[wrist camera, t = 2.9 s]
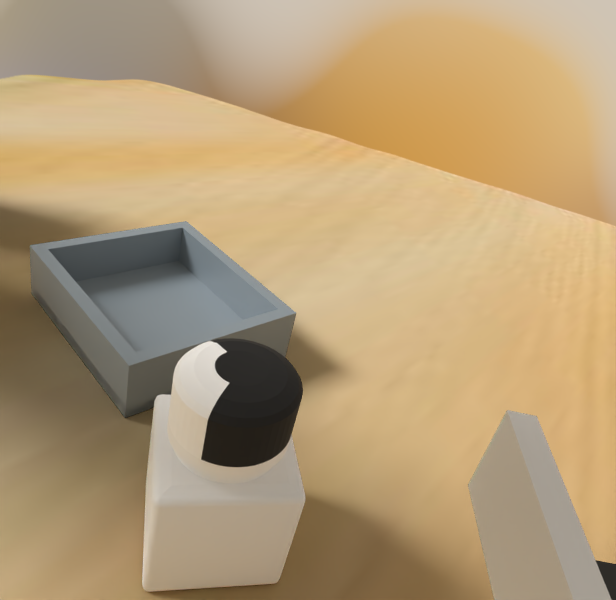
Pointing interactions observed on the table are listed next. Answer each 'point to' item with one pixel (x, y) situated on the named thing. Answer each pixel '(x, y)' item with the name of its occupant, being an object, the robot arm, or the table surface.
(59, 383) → the table surface
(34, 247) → the tote
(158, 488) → the medicine bottle
